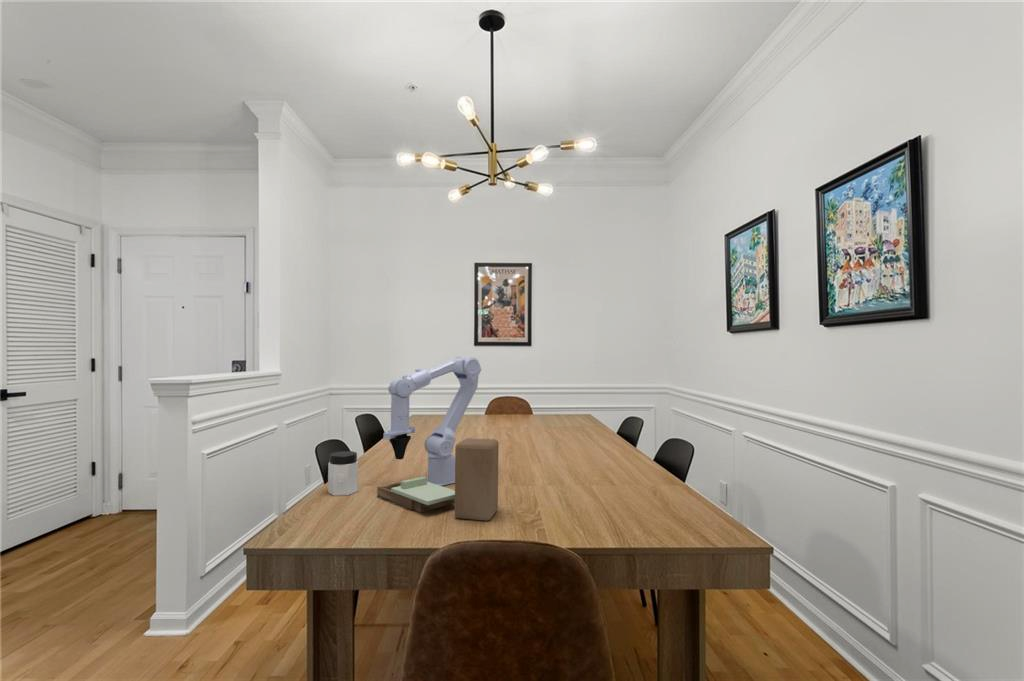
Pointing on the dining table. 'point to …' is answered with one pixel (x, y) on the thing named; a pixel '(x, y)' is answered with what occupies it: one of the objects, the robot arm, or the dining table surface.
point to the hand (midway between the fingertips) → (399, 458)
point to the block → (476, 479)
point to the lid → (423, 491)
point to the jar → (343, 473)
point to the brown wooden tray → (407, 499)
